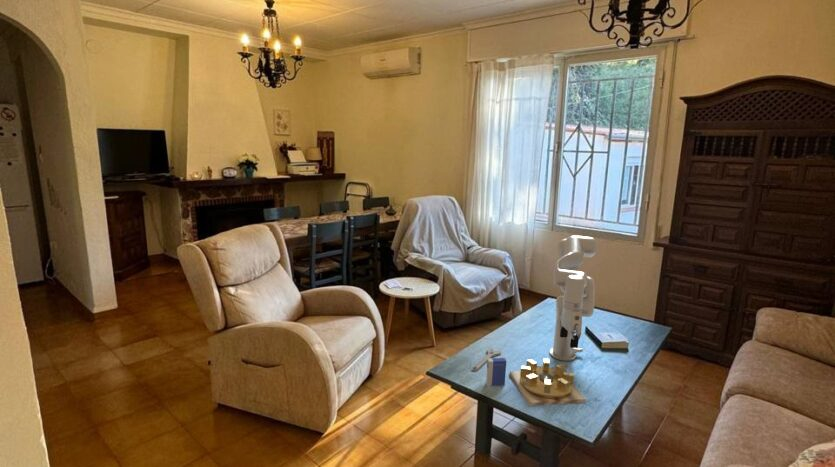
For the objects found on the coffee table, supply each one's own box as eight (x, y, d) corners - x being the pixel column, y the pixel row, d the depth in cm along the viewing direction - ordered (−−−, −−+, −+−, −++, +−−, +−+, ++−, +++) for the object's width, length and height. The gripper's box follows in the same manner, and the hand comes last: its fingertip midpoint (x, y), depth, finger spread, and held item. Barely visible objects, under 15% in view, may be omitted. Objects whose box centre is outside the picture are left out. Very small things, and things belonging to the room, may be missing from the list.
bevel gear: (558, 369, 203) (559, 357, 201) (582, 397, 182) (583, 383, 180) (512, 372, 200) (513, 359, 198) (531, 400, 178) (532, 386, 177)
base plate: (559, 371, 204) (559, 368, 204) (585, 402, 181) (585, 398, 181) (509, 374, 201) (509, 371, 201) (529, 405, 178) (530, 402, 177)
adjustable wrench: (476, 373, 202) (476, 369, 202) (464, 368, 206) (464, 364, 206) (502, 353, 221) (503, 350, 221) (491, 349, 225) (491, 346, 225)
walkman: (502, 381, 195) (504, 357, 192) (504, 385, 192) (506, 360, 189) (485, 382, 194) (487, 357, 191) (487, 385, 191) (488, 360, 189)
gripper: (591, 312, 177) (586, 351, 180) (571, 297, 194) (567, 333, 197) (573, 312, 176) (569, 352, 180) (555, 297, 193) (551, 333, 196)
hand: (568, 342), depth 188 cm, fingers open, 9 cm apart
